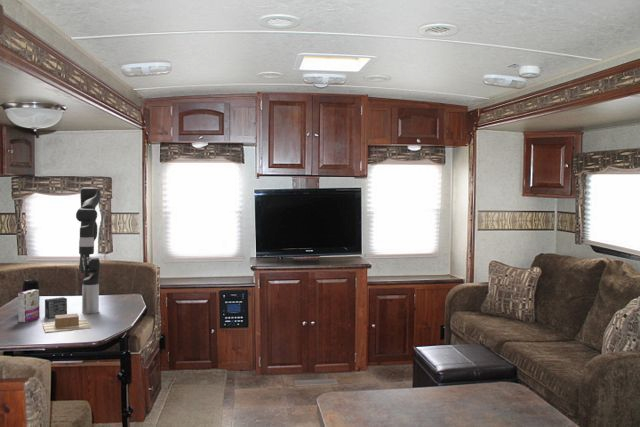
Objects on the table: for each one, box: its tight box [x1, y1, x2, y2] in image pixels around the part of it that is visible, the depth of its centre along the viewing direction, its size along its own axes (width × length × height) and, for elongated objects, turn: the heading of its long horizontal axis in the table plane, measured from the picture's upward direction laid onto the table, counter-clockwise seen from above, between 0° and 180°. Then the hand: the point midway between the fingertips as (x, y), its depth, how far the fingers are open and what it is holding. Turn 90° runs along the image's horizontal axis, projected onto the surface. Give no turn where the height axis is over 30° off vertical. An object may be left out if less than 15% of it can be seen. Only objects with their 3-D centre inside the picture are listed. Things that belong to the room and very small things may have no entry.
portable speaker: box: [22, 278, 40, 292], centre depth 321 cm, size 9×9×20 cm
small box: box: [44, 296, 68, 319], centre depth 310 cm, size 11×6×10 cm, turn 134°
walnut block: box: [54, 313, 80, 328], centre depth 289 cm, size 8×5×11 cm
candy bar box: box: [17, 289, 40, 323], centre depth 300 cm, size 11×5×16 cm, turn 168°
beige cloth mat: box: [42, 318, 92, 334], centre depth 289 cm, size 20×22×1 cm
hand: (86, 276), depth 293 cm, fingers closed
